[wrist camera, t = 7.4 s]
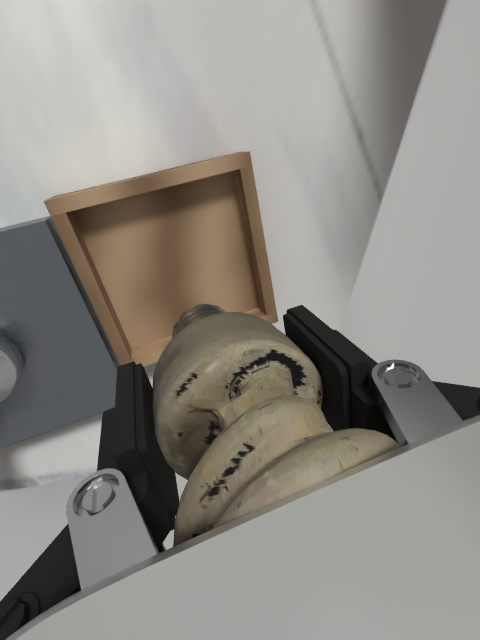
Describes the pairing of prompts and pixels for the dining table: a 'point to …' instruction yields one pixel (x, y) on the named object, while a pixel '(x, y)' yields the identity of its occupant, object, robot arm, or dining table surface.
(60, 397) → the crank base
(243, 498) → the light bulb
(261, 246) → the tray
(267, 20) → the dining table surface
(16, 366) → the crank
